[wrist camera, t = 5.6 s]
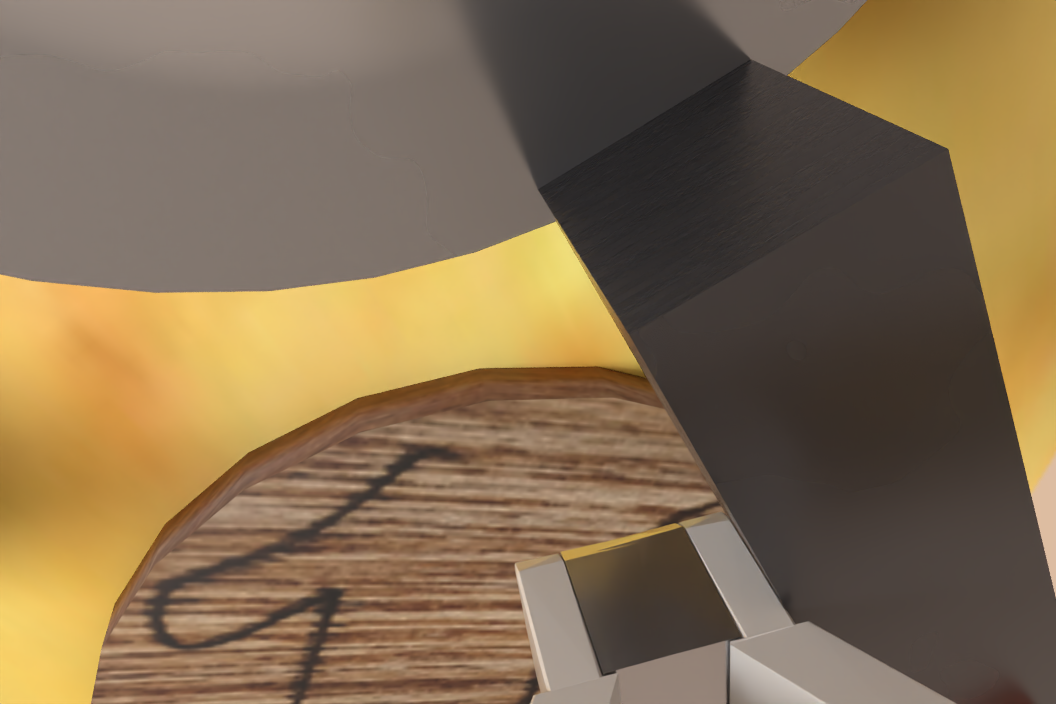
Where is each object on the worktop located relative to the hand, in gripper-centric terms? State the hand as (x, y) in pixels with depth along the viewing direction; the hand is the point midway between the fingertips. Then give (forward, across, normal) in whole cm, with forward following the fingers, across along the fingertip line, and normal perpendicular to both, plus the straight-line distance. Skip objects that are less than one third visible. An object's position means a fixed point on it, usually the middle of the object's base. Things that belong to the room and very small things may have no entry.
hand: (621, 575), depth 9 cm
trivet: (+12, +2, +17) cm, 21 cm away
